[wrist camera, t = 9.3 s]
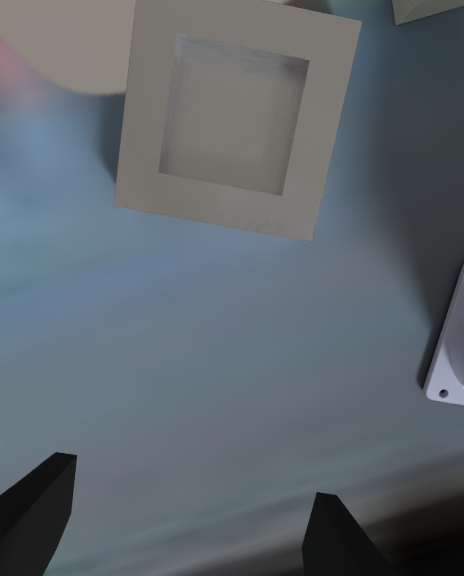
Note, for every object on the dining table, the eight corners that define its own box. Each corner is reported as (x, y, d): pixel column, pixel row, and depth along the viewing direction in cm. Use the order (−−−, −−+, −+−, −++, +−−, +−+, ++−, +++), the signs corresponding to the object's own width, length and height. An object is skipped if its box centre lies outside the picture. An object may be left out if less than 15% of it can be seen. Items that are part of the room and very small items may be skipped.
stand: (344, 44, 18) (362, 21, 16) (301, 236, 20) (311, 242, 18) (151, 4, 18) (138, -26, 15) (127, 204, 20) (113, 206, 17)
